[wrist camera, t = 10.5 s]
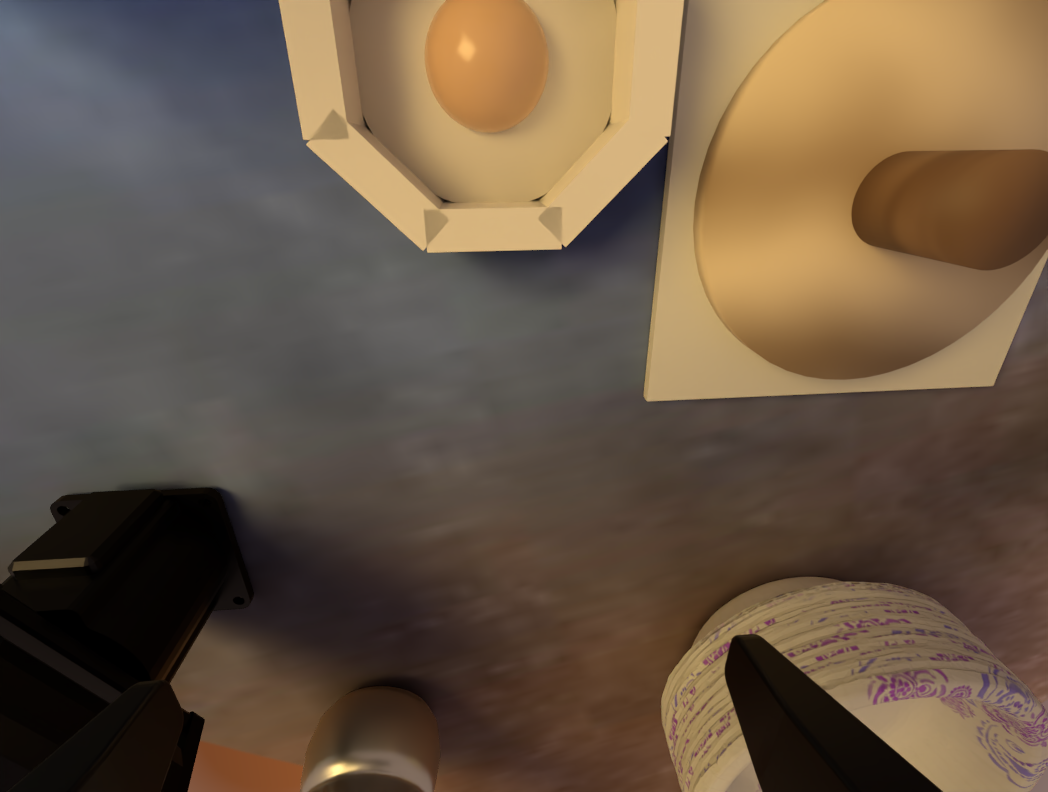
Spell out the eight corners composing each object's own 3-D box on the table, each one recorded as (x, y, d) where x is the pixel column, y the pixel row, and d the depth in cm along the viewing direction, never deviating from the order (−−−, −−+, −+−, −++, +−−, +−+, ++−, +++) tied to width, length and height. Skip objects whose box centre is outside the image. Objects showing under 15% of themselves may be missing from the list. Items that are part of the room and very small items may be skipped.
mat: (982, 381, 22) (993, 385, 21) (643, 396, 21) (647, 401, 21) (1167, -67, 16) (1187, -73, 15) (690, -76, 15) (697, -83, 14)
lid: (978, 363, 21) (1115, 419, 16) (672, 376, 20) (728, 439, 16) (1138, -34, 15) (1409, -113, 11) (724, -39, 15) (834, -127, 10)
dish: (626, 230, 19) (659, 247, 15) (353, 236, 18) (323, 255, 15) (653, -133, 15) (706, -222, 11) (296, -141, 14) (236, -239, 10)
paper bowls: (600, 707, 30) (639, 882, 23) (719, 503, 24) (822, 652, 17) (816, 737, 33) (910, 900, 26) (969, 562, 27) (1146, 710, 20)
